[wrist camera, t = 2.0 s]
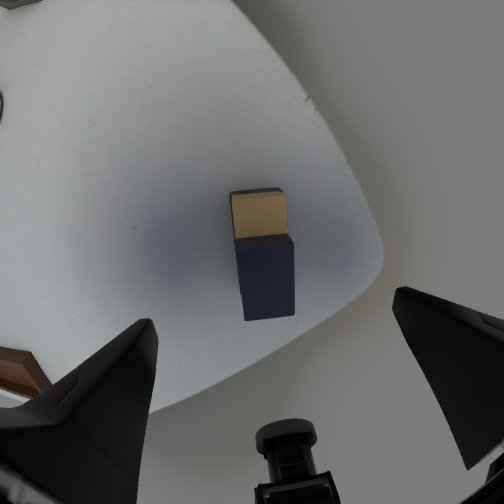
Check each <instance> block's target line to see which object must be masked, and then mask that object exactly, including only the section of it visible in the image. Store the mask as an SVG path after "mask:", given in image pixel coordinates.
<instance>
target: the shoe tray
mask: <svg viewBox="0 0 504 504" xmlns="http://www.w3.org/2000/svg"><path fill="white" fill-rule="evenodd" d="M50 386H52V384H51V383H50V382H49V380H48V379H47V377H46V376H45V374H44V373H43V371H42V370H41V368H40V366H39V365H38V363H37V362H36V360H35V358H34V357H33V355H32V353H31V352H25V351H19V350H14V349H8V348H3V347H0V389H2V390H4V391H7V392H10V393H13V394H16V395H19V396H22V397H25V398H28V399H32V398H34V397H35V396H37V395H38V394H40V393H41V392H43V391H44V390H46V389H47V388H49V387H50Z"/></svg>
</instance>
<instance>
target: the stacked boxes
mask: <svg viewBox="0 0 504 504" xmlns="http://www.w3.org/2000/svg"><path fill="white" fill-rule="evenodd" d="M230 204H231V214H232V223H233V233H234V242H235V251H236V260H237V268H238V277H239V286H240V294H241V295H242V304H243V312H244V320H245V321H252V320H261V319H269V318H277V317H285V316H292V315H294V314H295V277H294V243H293V242H292V240H291V238H290V237H289V235H288V226H287V204H286V195H284V194H283V191H282V190H281V189H280V188H266V189H255V190H244V191H234V192H230Z"/></svg>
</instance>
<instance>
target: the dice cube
mask: <svg viewBox="0 0 504 504" xmlns="http://www.w3.org/2000/svg"><path fill="white" fill-rule="evenodd" d="M38 1H42V0H0V6H1V7H4V8H6V9H12V8H16V7H19V6H22V5H26V4H30V3H34V2H38Z"/></svg>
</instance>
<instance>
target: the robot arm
mask: <svg viewBox="0 0 504 504" xmlns="http://www.w3.org/2000/svg"><path fill="white" fill-rule="evenodd" d="M392 310H393V313H394V315H395V318H396V320H397V322H398V324H399V326H400V329H401V331H402V333H403V335H404V337H405V340H406V342H407V344H408V346H409V347H410V349H411V351H412V353H413V354H414V356H415V358H416V360H417V362H418V364H419V366H420V367H421V369H422V371H423V373H424V375H425V377H426V379H427V381H428V382H429V385H430V387H431V389H432V391H433V393H434V395H435V397H436V399H437V401H438V403H439V405H440V407H441V409H442V411H443V413H444V416H445V418H446V420H447V422H448V425H449V426H450V429H451V432H452V434H453V436H454V439H455V441H456V444H457V446H458V449H459V451H460V454H461V456H462V459H463V462H464V464H465V467H466V469H467V470H470V469H471V468H472V467H474V466H475V465H476V464H478V463H479V462H480V461H482V460H483V459H484V458H486V457H487V456H488V455H489V454H491V453H492V452H493V451H494V450H496V449H497V448H498V447H499V446H500V445H501V447H502V448H503V450H504V320H502V319H499V318H496V317H493V316H490V315H487V314H484V313H481V312H477V311H476V310H473V309H470V308H467V307H464V306H462V305H459V304H456V303H453V302H450V301H447V300H445V299H442V298H439V297H436V296H433V295H430V294H427V293H424V292H421V291H418V290H415V289H413V288H409V287H407V286H404V287H399V288H397V289H396V291H395V296H394V301H393V306H392ZM157 353H158V336H157V333H156V330H155V327H154V324H153V321H152V320H151V319H150V318H146V319H139V320H138V321H137V322H135V323H134V324H133V325H131V326H130V327H129V328H127V329H126V330H125V331H123V332H122V333H121V334H119V335H118V336H117V337H115V338H114V339H113V340H111V341H110V342H109V343H108V344H106V345H105V346H104V347H102V348H101V349H100V350H98V351H97V352H96V353H94V354H93V355H92V356H91V357H89V358H88V359H87V360H85V361H84V362H83V363H81V364H80V365H79V366H78V367H77V368H76V369H74V370H72V371H71V372H70V373H69V374H67V375H66V376H65V377H63V378H62V379H60V380H59V381H58V382H56V383H55V384H53V385H52V386H50V387H49V388H47V389H46V390H44V391H43V392H41V393H40V394H38V395H37V396H35V397H34V398H32V399H31V400H29V401H27V402H26V403H24V404H23V405H21V406H18V407H14V408H1V407H0V504H136V502H137V492H138V481H139V472H140V464H141V458H142V451H143V444H144V437H145V431H146V425H147V419H148V413H149V408H150V402H151V397H152V392H153V387H154V382H155V375H156V363H157ZM313 438H314V433H313V432H312V431H311V432H305V433H300V434H294V435H288V436H281V437H274V438H266V439H262V448H263V455H264V459H265V460H267V462H268V469H269V476H270V483H267V484H258V487H257V488H255V489H254V491H255V504H341V503H340V498H339V495H338V492H337V489H336V487H335V484H334V481H333V478H332V475H331V473H330V471H327V472H325V473H321V474H317V472H316V468H315V464H314V460H313V456H312V452H311V447H312V442H313ZM267 496H269V497H267ZM458 504H504V453H503V454H502V455H500V457H498V458H497V459H496V460H495V461H494V462H493V463H491V464H490V467H489V471H488V475H487V479H486V482H485V484H484V485H483V486H482V487H480V488H479V489H478V490H476V491H475V492H474V493H472V494H471V495H470V496H468V497H467V498H466V499H464V500H462V501H461V502H460V503H458Z"/></svg>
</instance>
